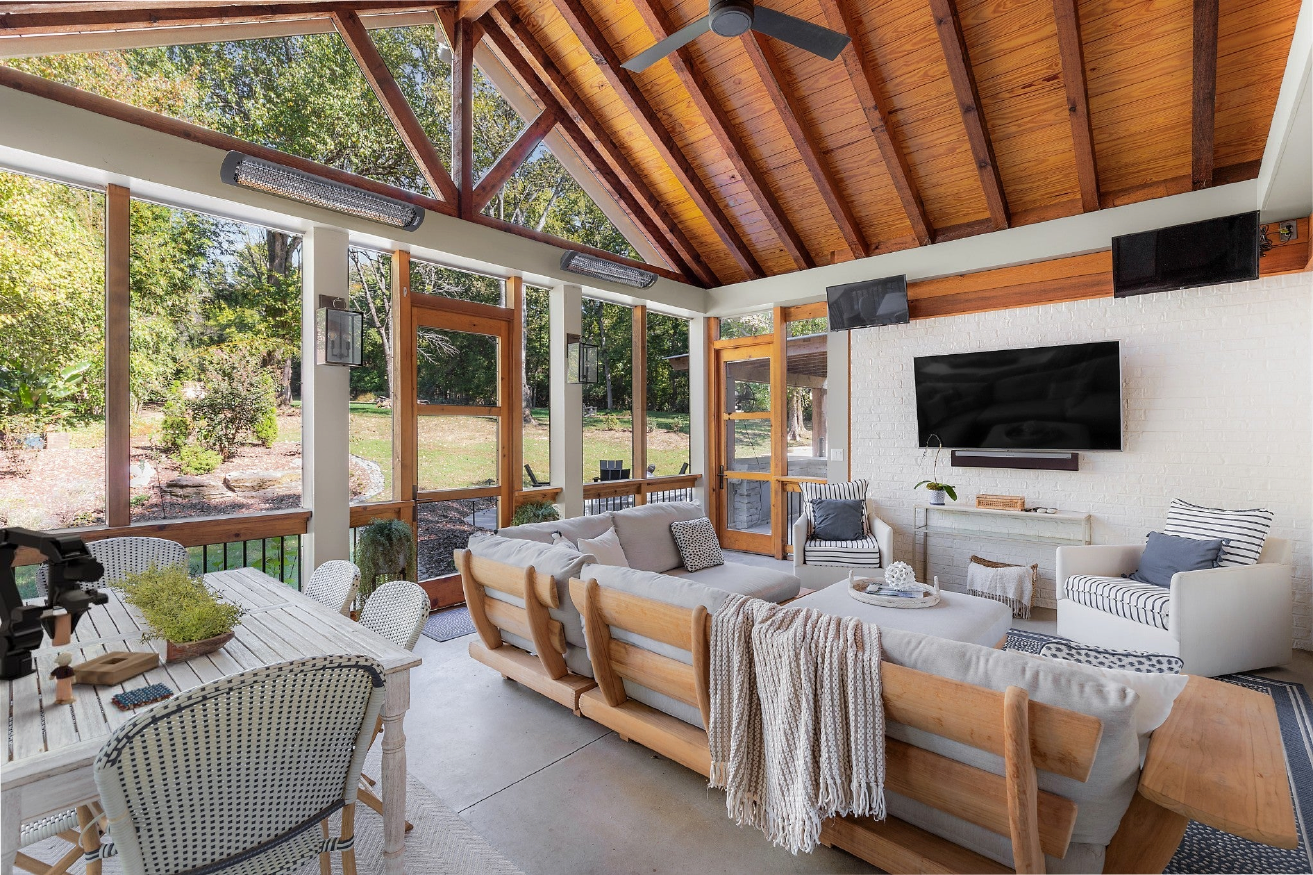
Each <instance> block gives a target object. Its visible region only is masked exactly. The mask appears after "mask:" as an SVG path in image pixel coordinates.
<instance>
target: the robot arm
mask: <svg viewBox="0 0 1313 875" xmlns="http://www.w3.org/2000/svg"><path fill="white" fill-rule="evenodd" d="M21 546H22V547H27V548H30V549H35V550H38V551H39V554H41V555H43V556H45V557H47V558H45V559H44V560H43V561H42V564H43V565H48V569H47V570H48V571H47V573H48V574H47V584H44V589H45V590H47V599H45V600H44V604H45V605H37V604H36V605H35V604H28V605H24V603H23V599H22V596H21V594H20V590H19V588H18V586H17V582H16V579H15V576H14V573H13V571H12V566H13V563H14V561H15V559H16V553H15V552H16V551H17V550H18V549H20V548H21ZM91 551H92V550H91V549H90V548H89V547H88V546H87V544H86V542H85V540H84V539H83V538H82V535H80V534H78V533H58V534H57V533H56V534H52V533H47V532H42V531H38V530H32V529H29V528H25V527H23V526H11V527H9V526H8V527H1V528H0V621H1V623H0V680H9V681H11V680H15V679H19V678H22V677H24V676H27V675H29V674H32V673H35V672H37V671H38V669H37V668H33V656H32V655H33V654H32V651H35V650H40V648H41V645H42V643H43V639H44V636H45V633H46V634H47V636H48V637H49V639H50V640H52V639H54V637H55V622H54V621H55V619H56V617H57V615H58V614H54V611H59V610H64V611H66V613H70V614H71V635H73V634H74V632H75V630H76V628H77V626H78V624H79V622H80V619H81V618H82V616H83V615H85V613H87V612H88V611H90V610H92V606H90V604H91V603H92V604H93V605H94V606H100V605H106V604H109V599H110V597H109V595H108V594H107V593H104V592H99V590H98V589H97V588H96V587H94V588H88V589H86V590H85V589H84V590H82V588H81V583H88V584H89V583H90V584H91V583H95V582H98V581H99V580H100V579H101V578H102V577H103V576H104V574H105V570H106V569H105V567H104V565H103V563H101V562H99V561H97V560H98V559H97V558H98V557H96V556H93V555H92V552H91ZM44 631H45V632H44Z"/></svg>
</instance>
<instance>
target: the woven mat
mask: <svg viewBox="0 0 1313 875" xmlns="http://www.w3.org/2000/svg"><path fill="white" fill-rule="evenodd" d="M173 691H174V690H171V688H169V687H167V685H165V684H163V683H162V682H159V683H155V684H152V685H149V686H143V687H141V688H139V687H138V688H137V689H131V690H129V691H128V692H127V691H123V692H121V693H116V694H114V695H113V697H112V698H110V700H112V701H111V702H112V703H114V704H115V705H117V706H118V708H119V709H121V710H122V711H124V712H127V711H128V710H133V709H134V708H136V709H138V708H140V707H144V706H145V704H146V705H150V704H151V703H152V704H153V703H156V702H161V701H166V698H168V699H170V698H169V697H173V696H174V695H175V693H174V692H173Z"/></svg>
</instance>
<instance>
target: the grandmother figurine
mask: <svg viewBox="0 0 1313 875" xmlns="http://www.w3.org/2000/svg"><path fill="white" fill-rule="evenodd" d="M72 657H73V653H72V652H71V651H64V652H61V653H60V654H59V655H57V657H55V659H54V660H53V663H54V664H58V666H57V667H55V668H54V669H53V670H52V671H51V672H50V676H49V678H48V680H49V681H53V680H55V679H56V680H57V682H56V686H55V687H56V689H55V700H54V701H53V705H56V704H57V705H58V704H60V705H68V704H73V703H74V702H76V701H77V699H76V697H73V688H72V685H71V684H74V683H76V680H75V679H76V678H75V673H74V671H73V668H72V667H73V666H70V664H72V662H73V658H72Z"/></svg>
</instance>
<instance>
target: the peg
mask: <svg viewBox="0 0 1313 875" xmlns="http://www.w3.org/2000/svg"><path fill="white" fill-rule="evenodd" d="M56 615H57V617H56V619H55V621H54V622H55V637H54V639H51V646H52V647H61V646H67V645H70V644H71V638H72V637H71V614H70V613H67V612H66V613H59V614H56Z"/></svg>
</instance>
